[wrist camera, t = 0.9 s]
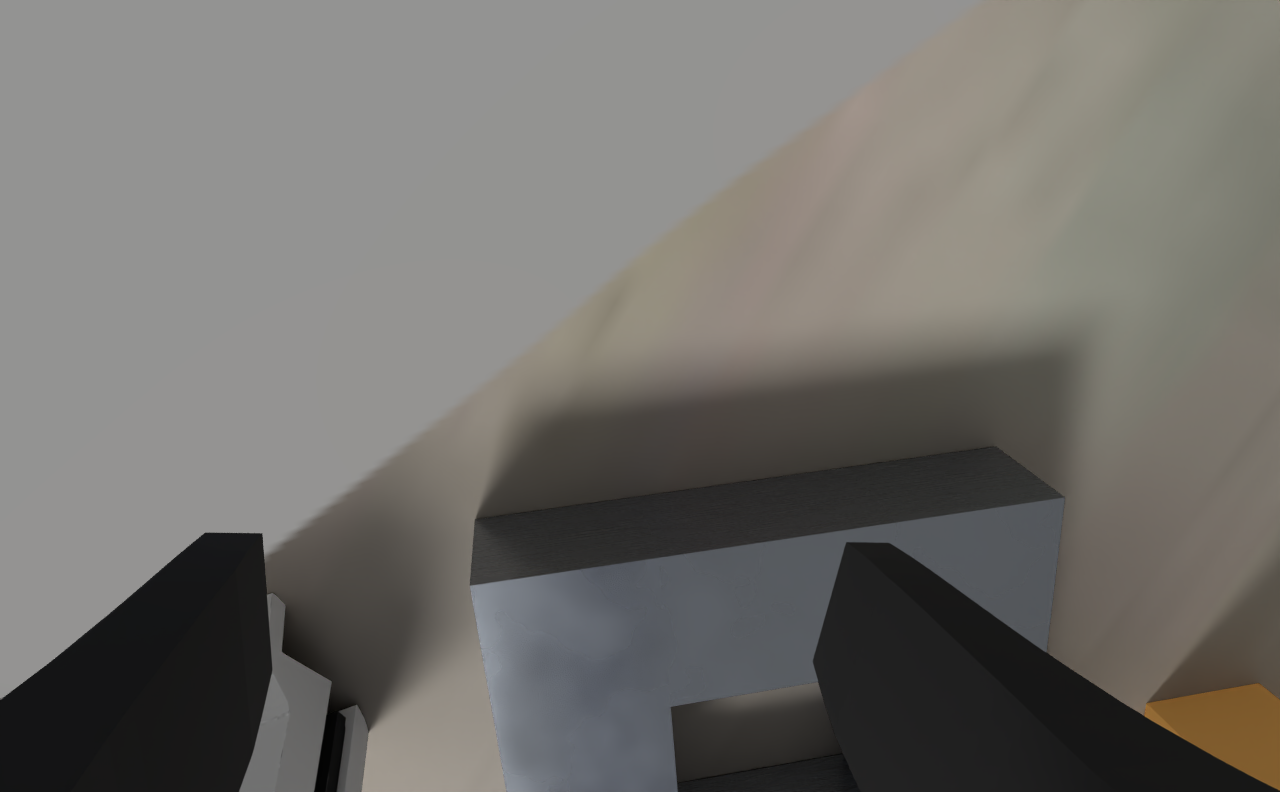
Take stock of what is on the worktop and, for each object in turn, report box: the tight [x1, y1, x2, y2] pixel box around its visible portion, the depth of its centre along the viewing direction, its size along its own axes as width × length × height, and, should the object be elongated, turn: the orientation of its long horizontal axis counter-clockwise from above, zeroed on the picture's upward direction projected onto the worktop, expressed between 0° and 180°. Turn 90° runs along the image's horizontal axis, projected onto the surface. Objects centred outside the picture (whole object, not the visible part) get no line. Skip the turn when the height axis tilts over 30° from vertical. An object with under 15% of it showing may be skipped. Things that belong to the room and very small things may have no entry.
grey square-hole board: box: [470, 447, 1065, 792], centre depth 23 cm, size 14×14×3 cm
